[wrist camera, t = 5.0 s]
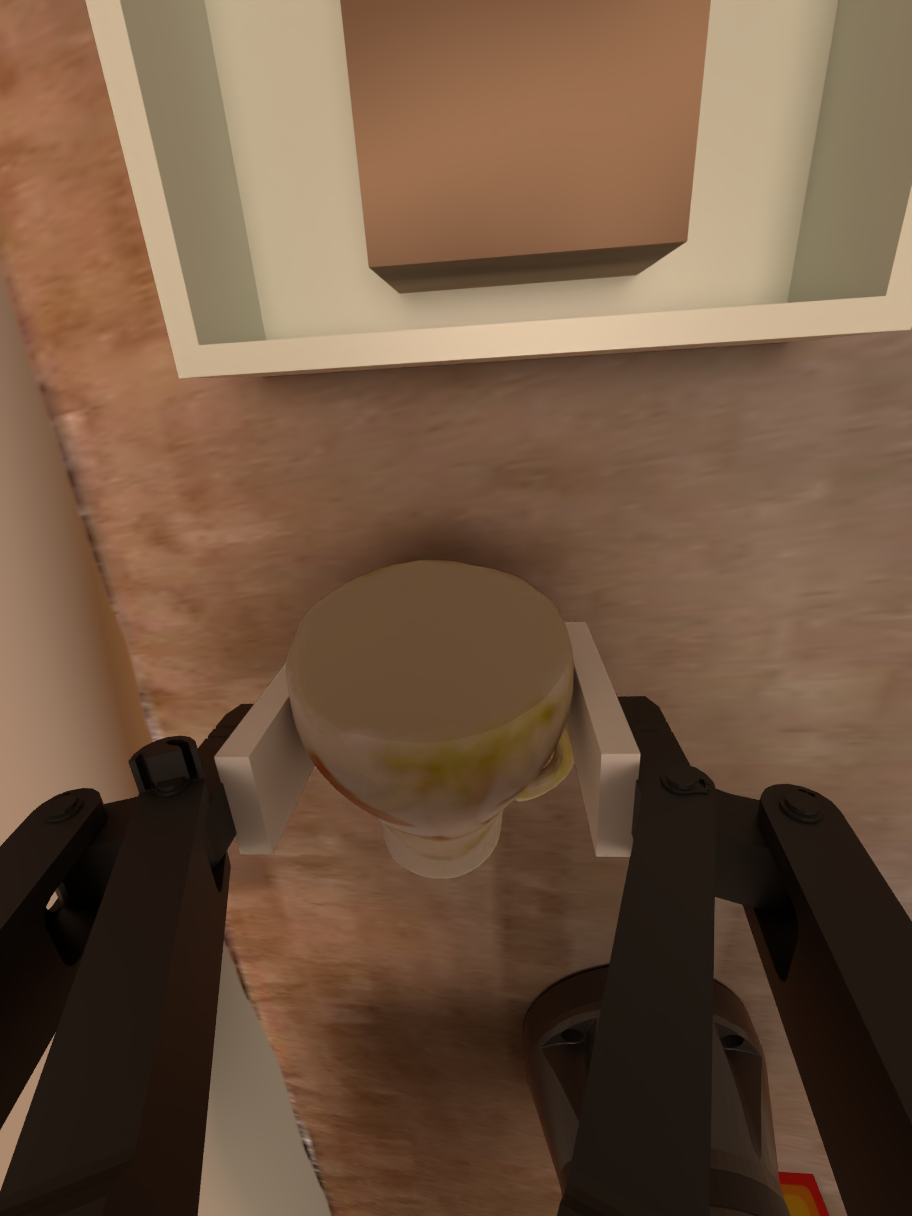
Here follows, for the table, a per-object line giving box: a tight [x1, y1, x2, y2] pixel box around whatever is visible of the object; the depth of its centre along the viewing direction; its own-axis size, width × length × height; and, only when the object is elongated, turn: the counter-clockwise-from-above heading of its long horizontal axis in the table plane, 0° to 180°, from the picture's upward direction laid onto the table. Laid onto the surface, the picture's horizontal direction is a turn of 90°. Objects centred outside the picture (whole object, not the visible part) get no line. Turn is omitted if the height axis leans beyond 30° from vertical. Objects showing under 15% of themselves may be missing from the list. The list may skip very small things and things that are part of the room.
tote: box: [86, 0, 912, 378], centre depth 14 cm, size 16×20×6 cm
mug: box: [286, 560, 574, 879], centre depth 15 cm, size 8×10×10 cm
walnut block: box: [340, 0, 711, 294], centre depth 13 cm, size 11×8×5 cm
